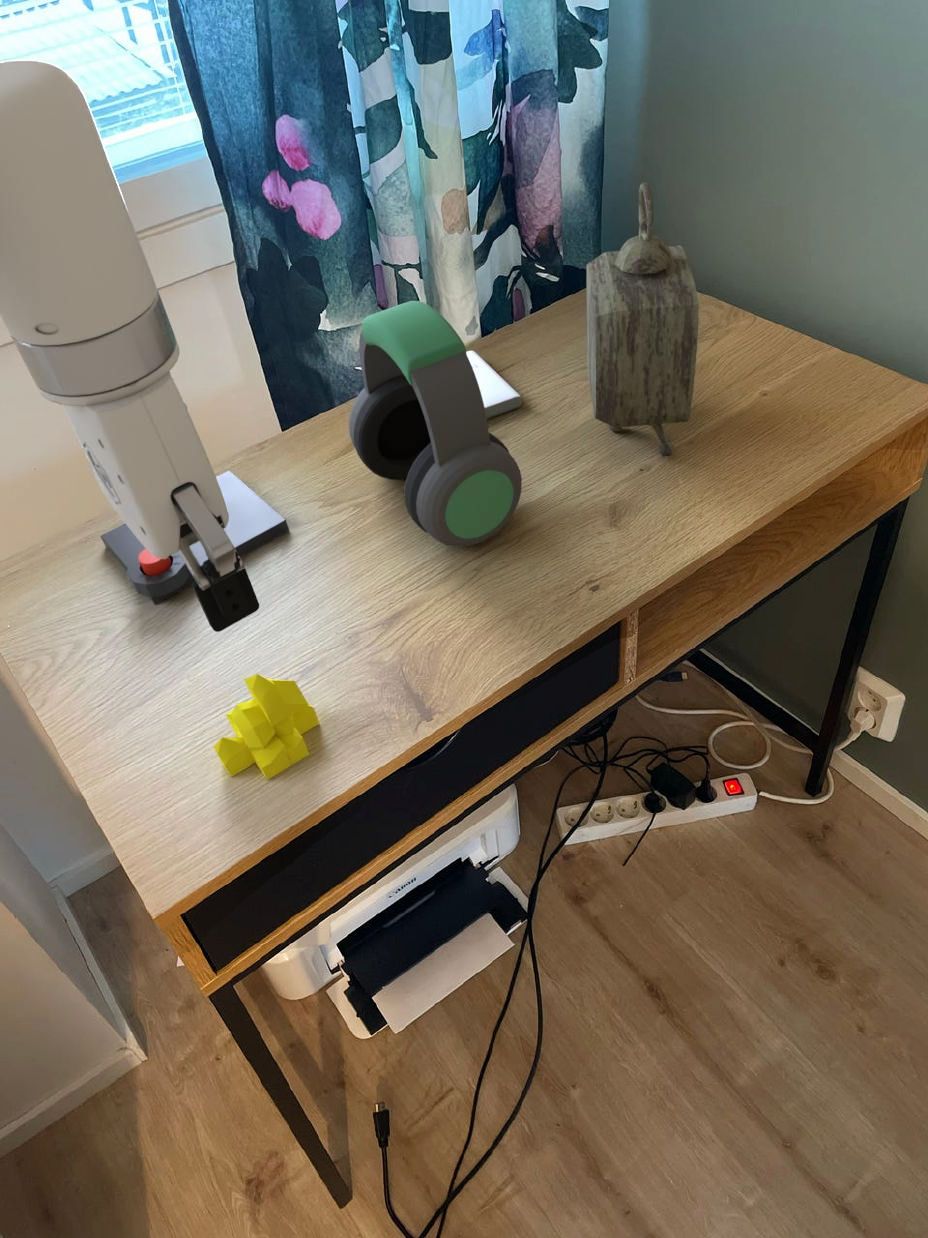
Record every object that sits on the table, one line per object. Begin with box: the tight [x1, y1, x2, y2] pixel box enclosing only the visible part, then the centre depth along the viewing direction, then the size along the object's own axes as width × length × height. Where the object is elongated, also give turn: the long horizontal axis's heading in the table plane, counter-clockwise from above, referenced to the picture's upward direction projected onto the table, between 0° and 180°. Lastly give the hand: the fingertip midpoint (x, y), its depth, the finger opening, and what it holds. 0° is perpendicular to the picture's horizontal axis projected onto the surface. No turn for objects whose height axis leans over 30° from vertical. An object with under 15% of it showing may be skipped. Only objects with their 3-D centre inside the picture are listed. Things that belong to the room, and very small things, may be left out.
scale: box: [100, 470, 290, 605], centre depth 89 cm, size 16×13×3 cm
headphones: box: [348, 300, 523, 547], centre depth 84 cm, size 19×11×20 cm, turn 29°
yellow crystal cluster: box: [213, 673, 320, 781], centre depth 69 cm, size 6×8×8 cm
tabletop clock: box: [585, 181, 699, 457], centre depth 87 cm, size 14×9×25 cm, turn 179°
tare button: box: [138, 549, 171, 576], centre depth 84 cm, size 3×3×2 cm
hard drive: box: [466, 350, 523, 420], centre depth 104 cm, size 2×8×12 cm
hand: (203, 579), depth 59 cm, fingers open, 9 cm apart
